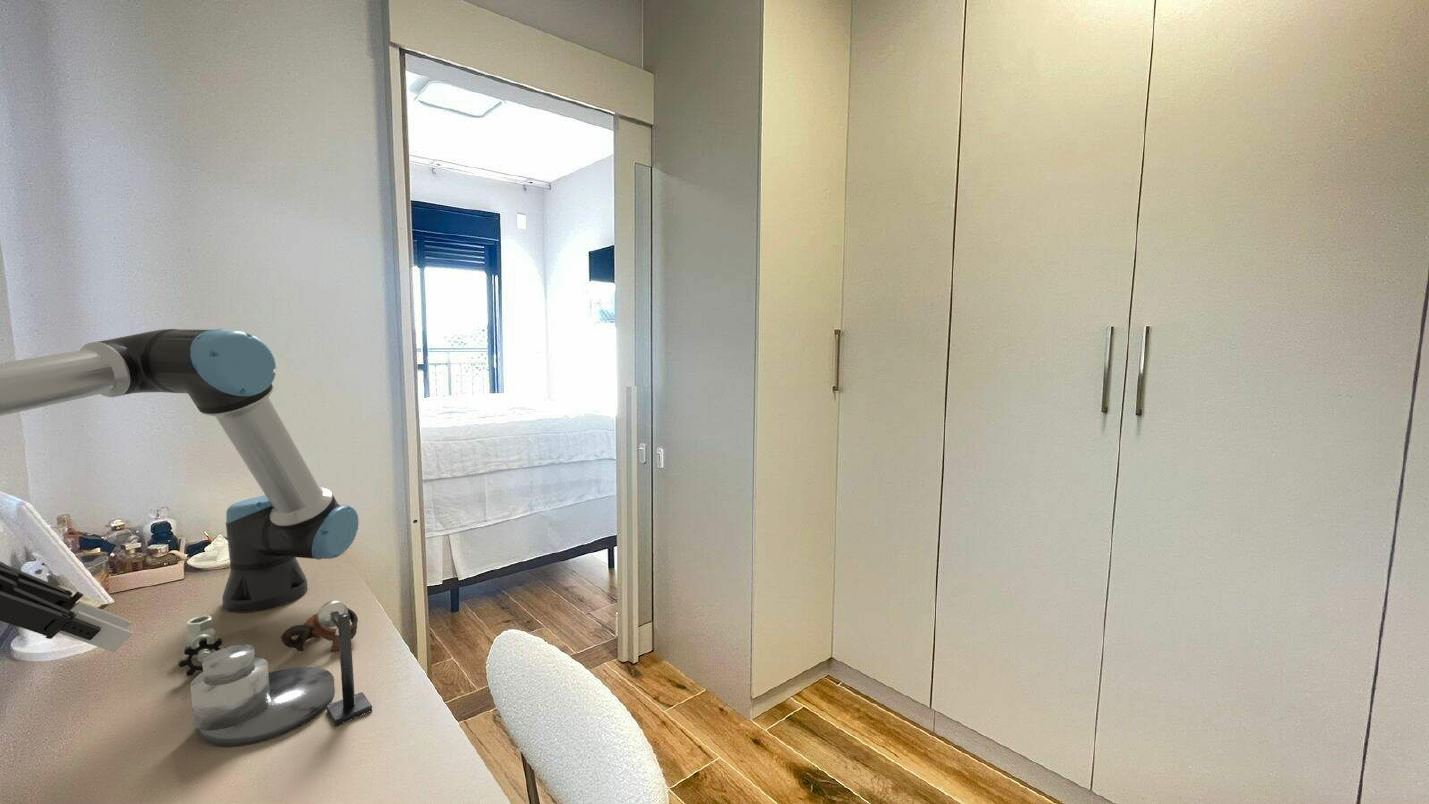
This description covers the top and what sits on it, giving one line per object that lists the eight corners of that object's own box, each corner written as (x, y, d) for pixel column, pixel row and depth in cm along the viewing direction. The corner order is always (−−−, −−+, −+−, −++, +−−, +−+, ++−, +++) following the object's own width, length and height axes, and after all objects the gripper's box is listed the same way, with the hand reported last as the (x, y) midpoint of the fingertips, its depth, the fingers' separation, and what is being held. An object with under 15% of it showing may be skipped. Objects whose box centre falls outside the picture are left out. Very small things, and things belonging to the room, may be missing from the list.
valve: (177, 655, 106) (180, 683, 98) (174, 621, 105) (176, 647, 97) (224, 642, 111) (230, 668, 102) (221, 610, 110) (227, 633, 101)
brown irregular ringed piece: (335, 630, 117) (352, 598, 115) (352, 664, 112) (370, 631, 111) (266, 641, 106) (284, 606, 105) (282, 679, 102) (301, 643, 100)
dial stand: (319, 698, 94) (313, 606, 92) (354, 685, 97) (348, 596, 96) (335, 726, 87) (328, 627, 85) (372, 711, 91) (366, 615, 89)
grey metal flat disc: (193, 709, 91) (192, 697, 90) (320, 666, 103) (319, 655, 103) (206, 765, 79) (205, 751, 79) (347, 708, 91) (347, 696, 91)
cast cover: (190, 710, 87) (185, 655, 86) (264, 685, 94) (260, 633, 93) (197, 739, 81) (191, 680, 80) (275, 710, 88) (271, 655, 87)
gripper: (-122, 560, 68) (97, 640, 82) (-166, 605, 57) (96, 688, 71) (-54, 508, 71) (145, 593, 85) (-84, 541, 60) (151, 632, 74)
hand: (122, 636), depth 78 cm, fingers open, 3 cm apart
